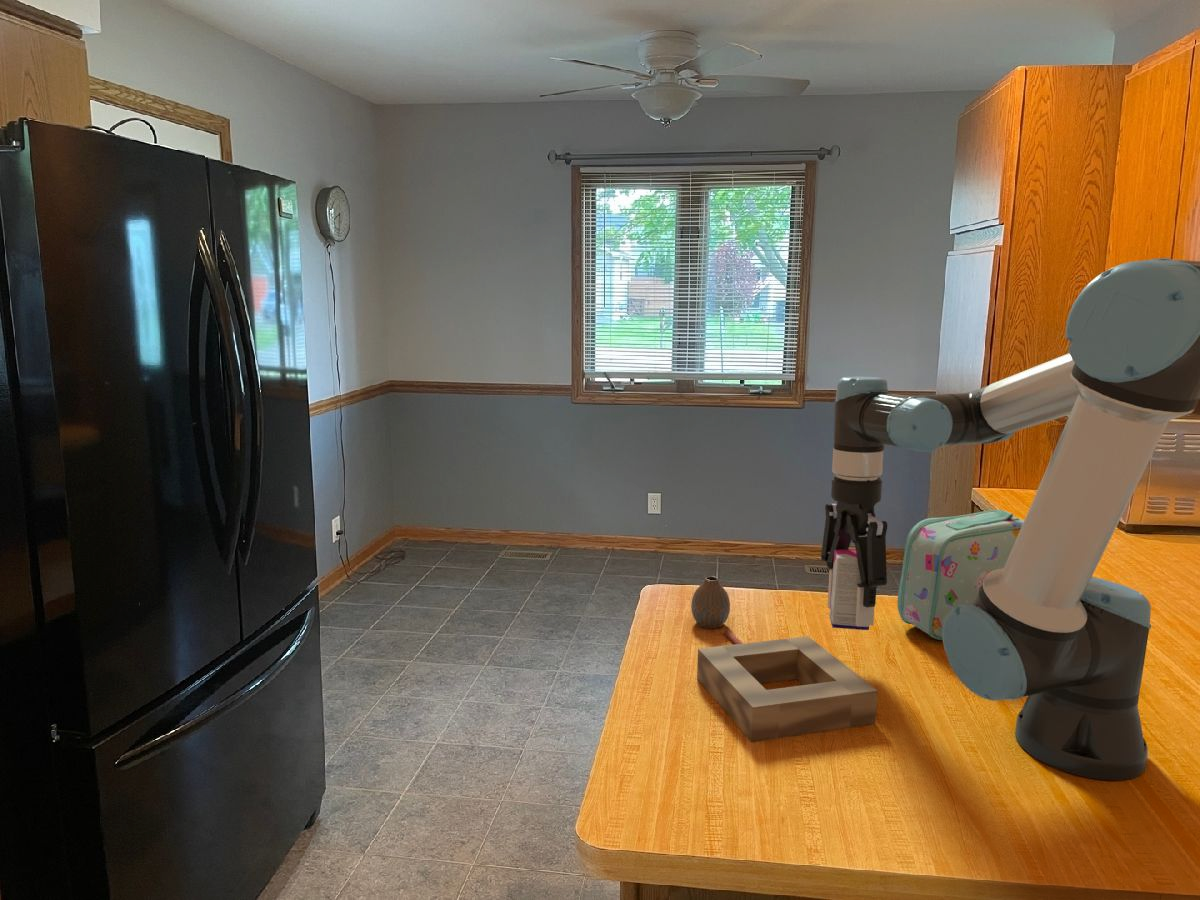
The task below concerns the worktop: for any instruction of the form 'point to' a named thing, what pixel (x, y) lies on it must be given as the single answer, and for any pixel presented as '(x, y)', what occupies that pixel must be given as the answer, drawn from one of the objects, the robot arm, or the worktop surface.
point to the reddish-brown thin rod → (732, 637)
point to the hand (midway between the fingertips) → (849, 615)
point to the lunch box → (951, 564)
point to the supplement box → (845, 590)
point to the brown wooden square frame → (783, 712)
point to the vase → (710, 604)
